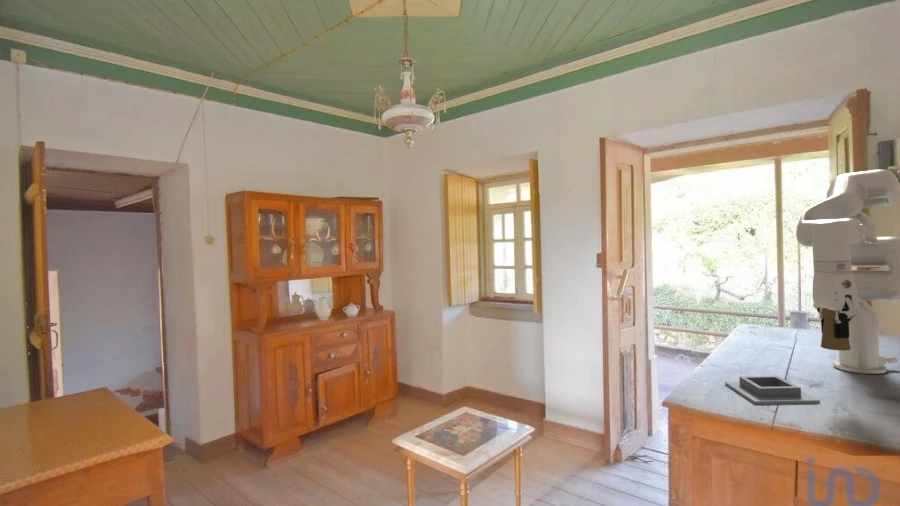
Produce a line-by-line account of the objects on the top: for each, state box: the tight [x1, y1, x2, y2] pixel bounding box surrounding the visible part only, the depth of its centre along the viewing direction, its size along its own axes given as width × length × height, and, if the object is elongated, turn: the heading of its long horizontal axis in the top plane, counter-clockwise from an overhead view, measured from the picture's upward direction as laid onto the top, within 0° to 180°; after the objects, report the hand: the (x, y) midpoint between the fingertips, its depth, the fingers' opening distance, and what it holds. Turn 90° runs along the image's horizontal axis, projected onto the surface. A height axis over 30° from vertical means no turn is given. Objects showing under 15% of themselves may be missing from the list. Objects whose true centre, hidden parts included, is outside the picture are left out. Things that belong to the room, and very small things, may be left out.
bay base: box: [724, 375, 821, 405], centre depth 124 cm, size 16×16×3 cm
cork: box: [820, 308, 851, 351], centre depth 116 cm, size 6×6×11 cm
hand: (835, 335), depth 116 cm, fingers closed on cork, 3 cm apart
